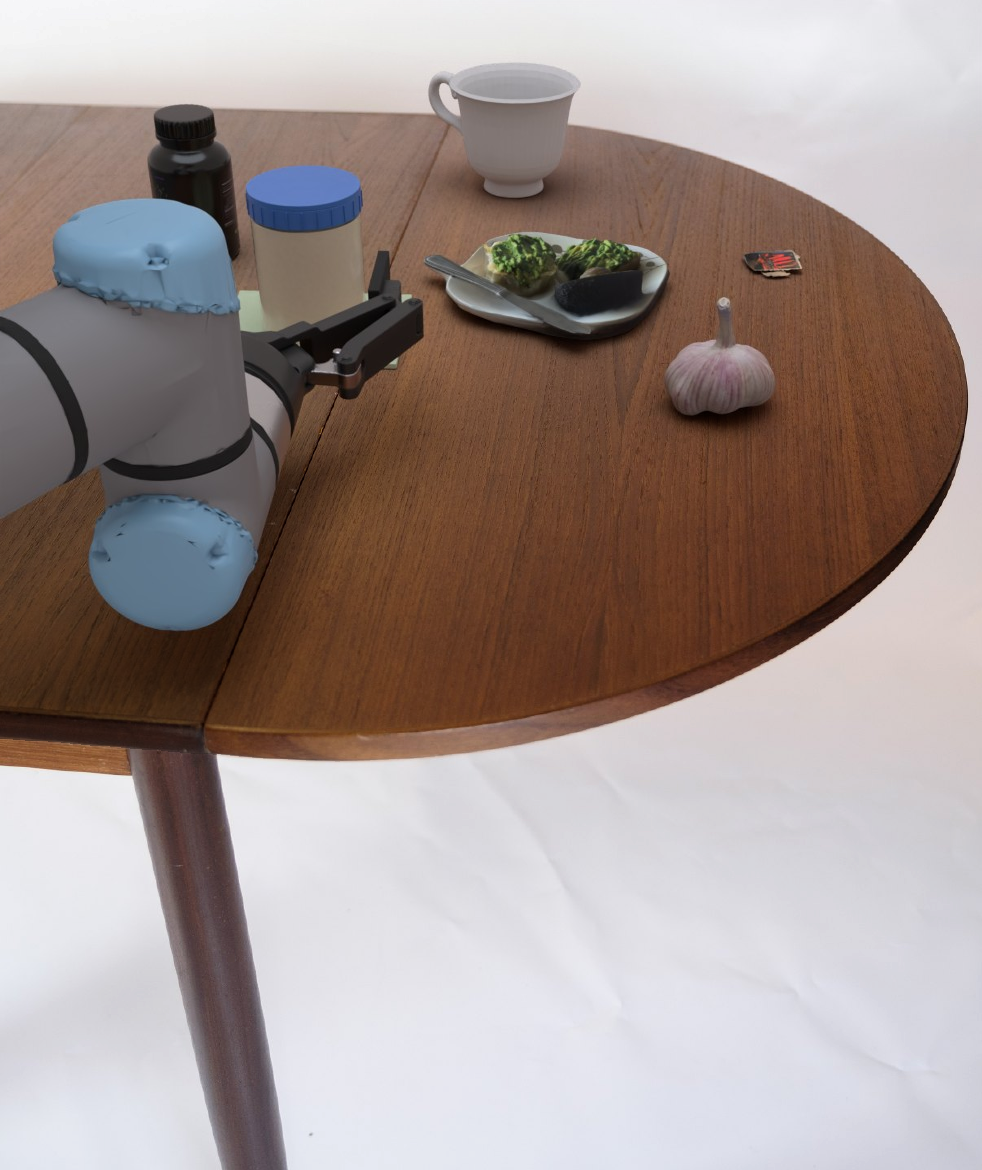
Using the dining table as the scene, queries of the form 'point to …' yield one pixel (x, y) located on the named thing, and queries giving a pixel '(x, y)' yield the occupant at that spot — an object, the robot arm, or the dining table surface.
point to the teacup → (509, 121)
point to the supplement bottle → (194, 166)
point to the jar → (308, 272)
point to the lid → (304, 198)
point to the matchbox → (773, 261)
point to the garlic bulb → (719, 373)
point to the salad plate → (556, 284)
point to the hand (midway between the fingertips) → (287, 266)
